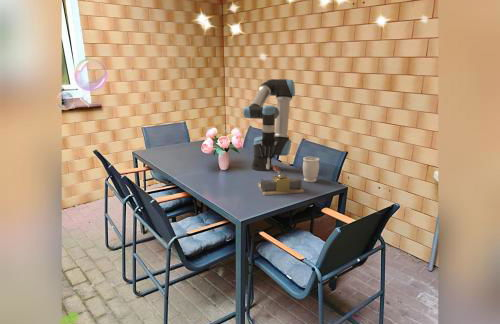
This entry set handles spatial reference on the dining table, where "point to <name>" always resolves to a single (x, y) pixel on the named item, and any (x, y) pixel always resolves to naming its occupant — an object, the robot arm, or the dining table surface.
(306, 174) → the jar
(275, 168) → the lever
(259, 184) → the board
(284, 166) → the dining table surface
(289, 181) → the valve pipe
